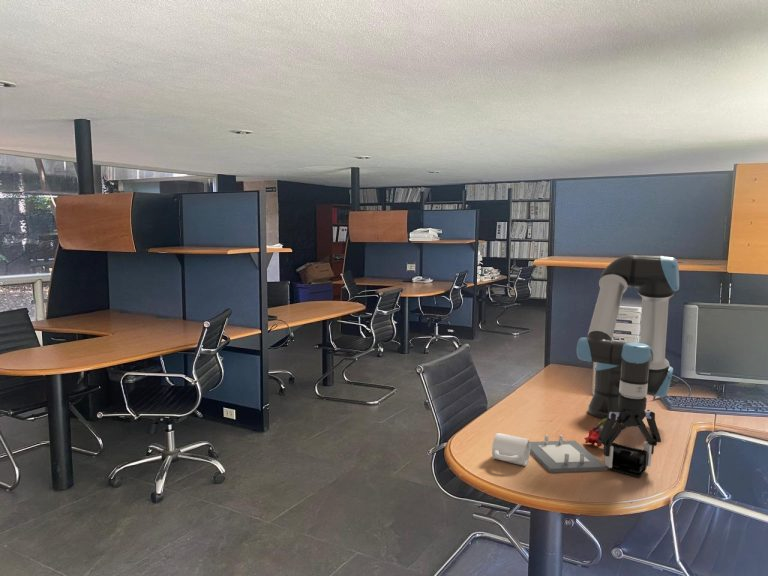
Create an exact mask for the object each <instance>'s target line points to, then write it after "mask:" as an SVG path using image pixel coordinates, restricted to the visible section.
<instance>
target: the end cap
mask: <svg viewBox="0 0 768 576" xmlns="http://www.w3.org/2000/svg"><path fill="white" fill-rule="evenodd" d="M612 446H613V461H612V468H609V467H608V466H607V467H608V468H607V469H608V470H610V471H614V472H618V473H622V474H624V475H629V476H631V477H632V476H633V477H636V478H641V477H642V476H643V474H644V472H645V471H647V468H648V466H647V464H648V452H647V451H646V450H644V449H641V448H638V447H633V446H629V445H624V444H620V443H616V442H613V443H612Z"/></svg>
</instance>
